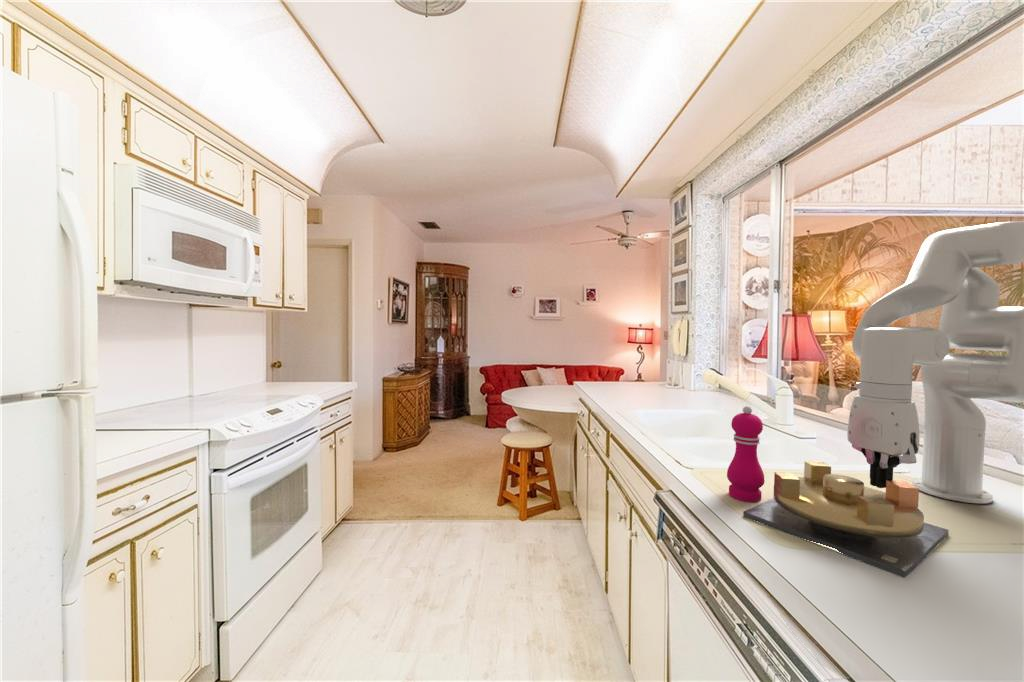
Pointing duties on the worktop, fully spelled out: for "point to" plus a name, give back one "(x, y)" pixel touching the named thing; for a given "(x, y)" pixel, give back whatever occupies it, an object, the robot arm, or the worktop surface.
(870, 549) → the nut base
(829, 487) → the brass lugged disc
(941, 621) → the worktop surface
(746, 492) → the pepper mill
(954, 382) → the robot arm
